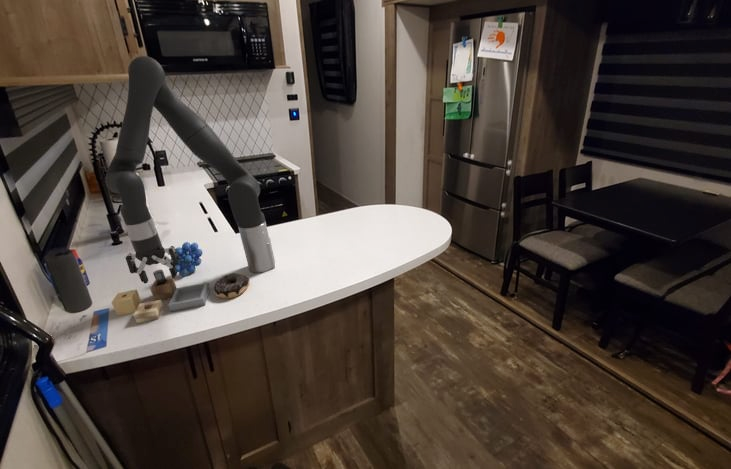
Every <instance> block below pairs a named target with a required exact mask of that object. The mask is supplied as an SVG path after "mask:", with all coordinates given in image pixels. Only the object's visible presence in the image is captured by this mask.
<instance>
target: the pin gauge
mask: <svg viewBox="0 0 731 469" xmlns="http://www.w3.org/2000/svg"><path fill="white" fill-rule="evenodd" d="M152 273H153V274H152V275H153V276H154V279H155V280H156V282H157V284H158V285H164V284H166V282H167V281H166V278H167V277H166V276H165V273H164V270H163V269H158V270H157V269H156V270H154V271H153V272H152Z"/></svg>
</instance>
